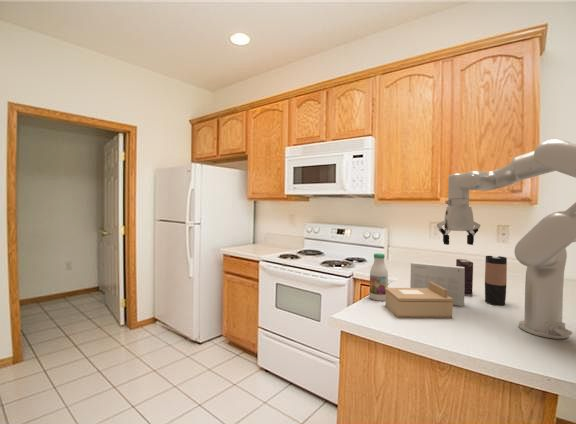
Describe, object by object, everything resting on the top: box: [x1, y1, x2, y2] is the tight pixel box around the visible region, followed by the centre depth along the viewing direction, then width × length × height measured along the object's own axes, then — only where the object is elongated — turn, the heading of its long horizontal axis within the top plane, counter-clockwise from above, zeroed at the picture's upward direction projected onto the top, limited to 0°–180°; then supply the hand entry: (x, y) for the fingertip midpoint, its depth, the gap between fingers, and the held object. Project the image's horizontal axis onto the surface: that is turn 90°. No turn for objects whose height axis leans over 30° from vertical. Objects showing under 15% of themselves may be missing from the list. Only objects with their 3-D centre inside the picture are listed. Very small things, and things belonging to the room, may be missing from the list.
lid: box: [385, 282, 454, 302], centre depth 116 cm, size 14×20×4 cm
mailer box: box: [385, 291, 454, 319], centre depth 116 cm, size 14×20×6 cm
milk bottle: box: [369, 253, 389, 302], centre depth 131 cm, size 8×8×20 cm
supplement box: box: [455, 258, 474, 297], centre depth 141 cm, size 9×5×16 cm, turn 168°
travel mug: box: [484, 255, 508, 307], centre depth 127 cm, size 8×8×20 cm
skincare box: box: [409, 261, 465, 307], centre depth 130 cm, size 21×6×16 cm, turn 57°
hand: (458, 244), depth 123 cm, fingers open, 9 cm apart
